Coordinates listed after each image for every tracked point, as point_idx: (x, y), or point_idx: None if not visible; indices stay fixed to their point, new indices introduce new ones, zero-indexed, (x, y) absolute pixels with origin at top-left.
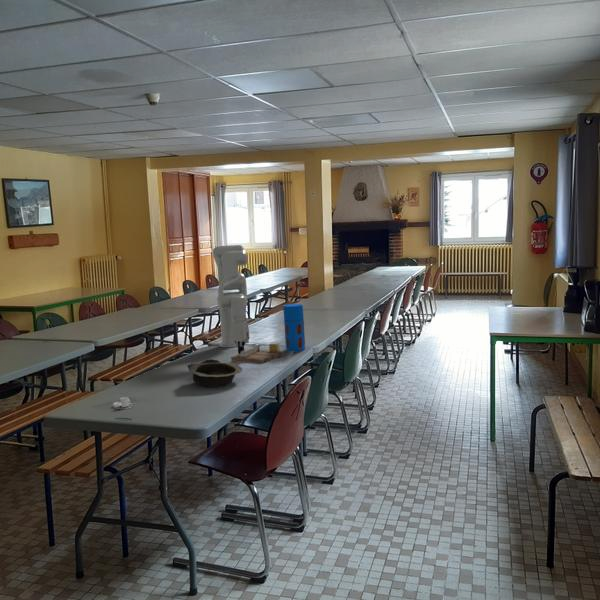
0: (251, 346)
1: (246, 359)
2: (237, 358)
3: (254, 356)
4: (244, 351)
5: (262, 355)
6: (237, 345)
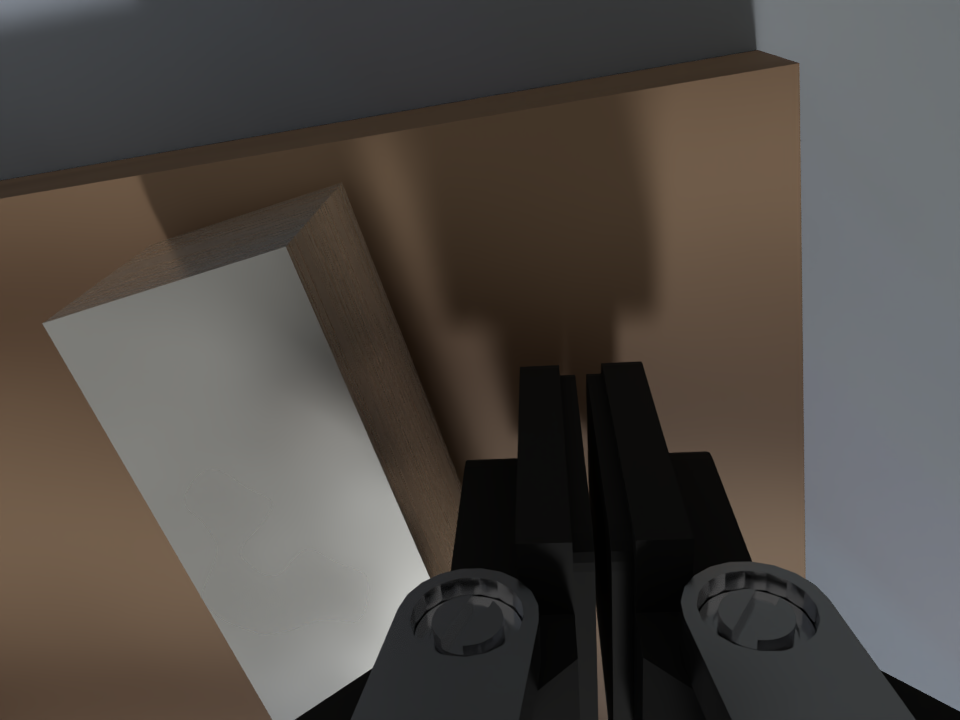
0: None
1: (80, 176)
2: (480, 114)
3: (79, 499)
4: (127, 355)
5: (4, 666)
6: (760, 613)
